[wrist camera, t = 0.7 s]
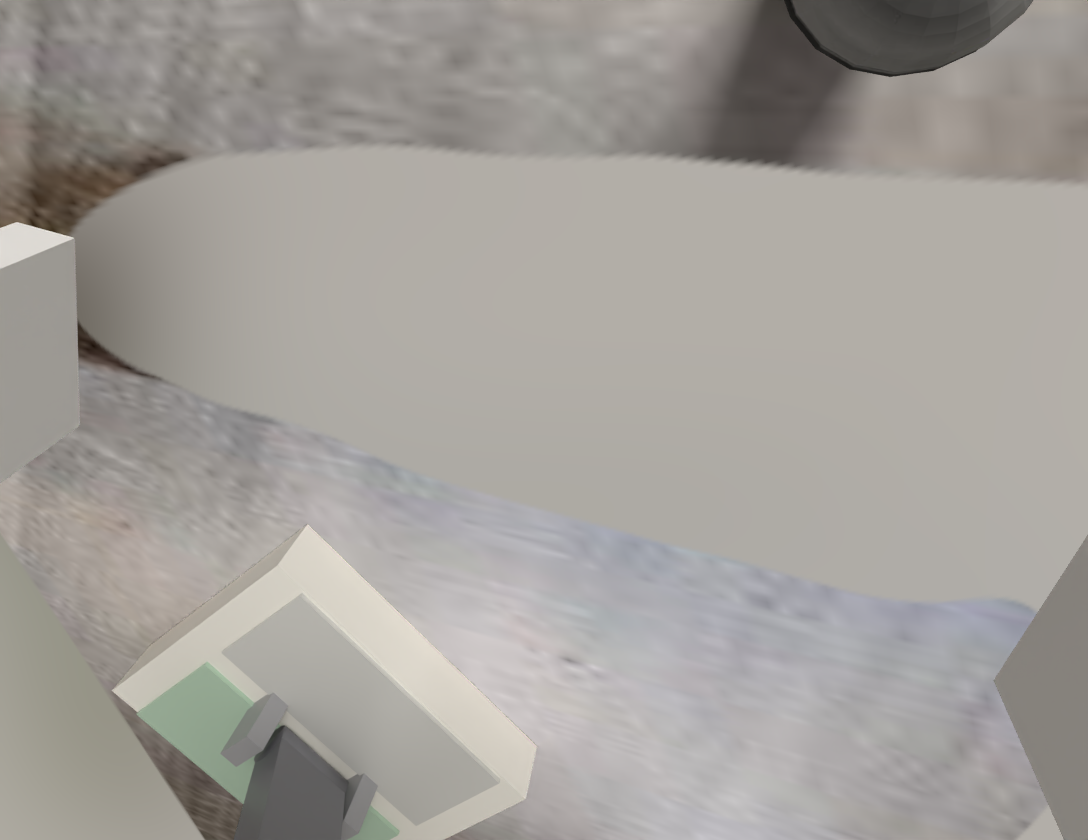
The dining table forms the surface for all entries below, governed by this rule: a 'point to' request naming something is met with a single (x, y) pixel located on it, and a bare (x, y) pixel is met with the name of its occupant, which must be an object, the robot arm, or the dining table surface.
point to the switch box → (331, 698)
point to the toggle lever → (292, 794)
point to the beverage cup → (902, 30)
